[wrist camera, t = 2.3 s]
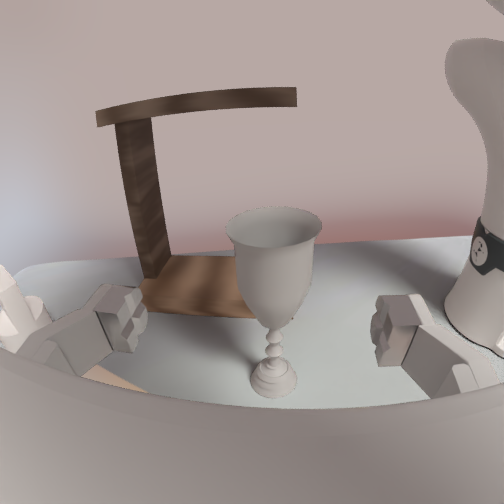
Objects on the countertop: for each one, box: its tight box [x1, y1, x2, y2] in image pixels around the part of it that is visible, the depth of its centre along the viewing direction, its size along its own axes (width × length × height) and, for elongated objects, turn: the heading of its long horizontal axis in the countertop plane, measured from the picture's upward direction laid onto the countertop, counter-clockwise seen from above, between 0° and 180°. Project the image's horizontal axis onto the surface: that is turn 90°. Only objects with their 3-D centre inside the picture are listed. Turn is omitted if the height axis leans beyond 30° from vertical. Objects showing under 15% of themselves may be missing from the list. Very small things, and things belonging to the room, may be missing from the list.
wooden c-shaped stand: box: [96, 87, 297, 319], centre depth 38 cm, size 22×11×28 cm, turn 84°
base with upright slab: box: [0, 265, 52, 353], centre depth 30 cm, size 9×9×12 cm
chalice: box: [226, 207, 322, 398], centre depth 26 cm, size 7×7×18 cm
